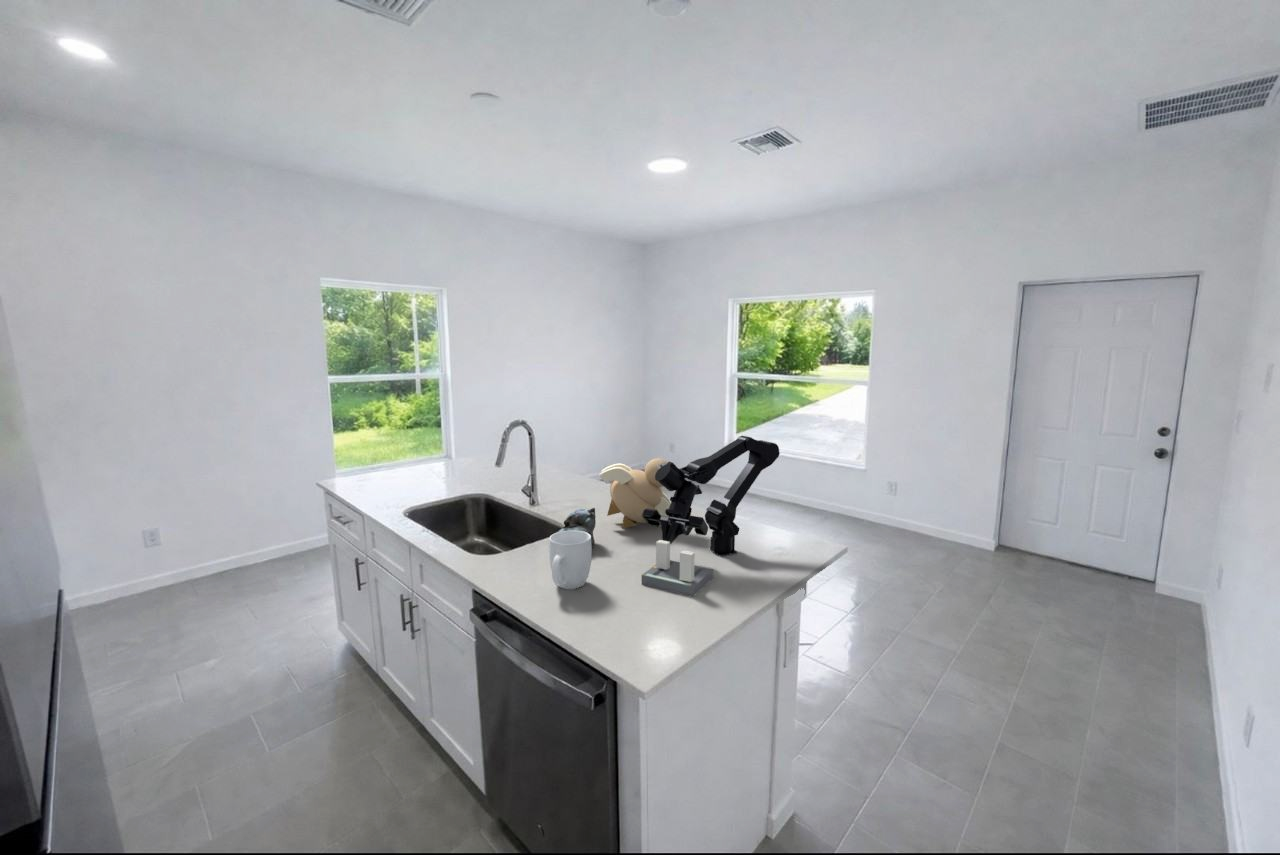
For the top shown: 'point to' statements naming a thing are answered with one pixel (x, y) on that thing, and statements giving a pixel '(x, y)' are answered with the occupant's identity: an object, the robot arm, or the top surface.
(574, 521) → the lucky cat figurine
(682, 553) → the block
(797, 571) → the top surface
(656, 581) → the breaker panel
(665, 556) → the block
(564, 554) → the mug
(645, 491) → the chick figurine
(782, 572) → the top surface
